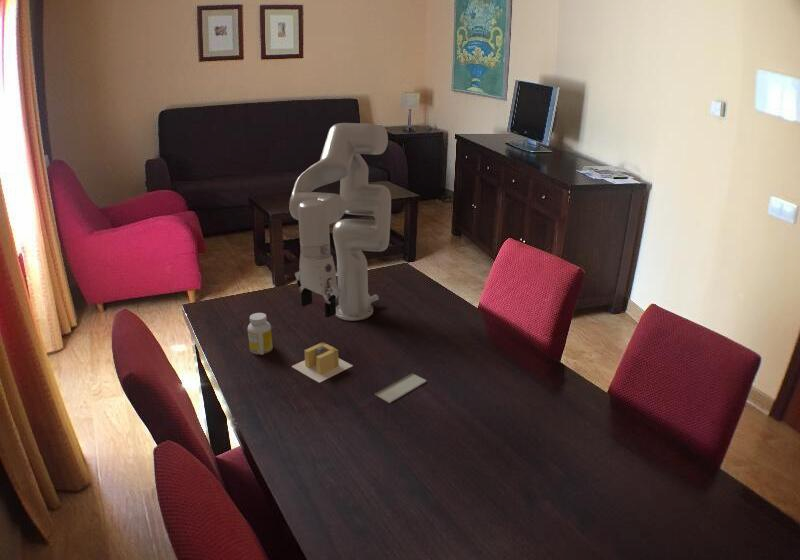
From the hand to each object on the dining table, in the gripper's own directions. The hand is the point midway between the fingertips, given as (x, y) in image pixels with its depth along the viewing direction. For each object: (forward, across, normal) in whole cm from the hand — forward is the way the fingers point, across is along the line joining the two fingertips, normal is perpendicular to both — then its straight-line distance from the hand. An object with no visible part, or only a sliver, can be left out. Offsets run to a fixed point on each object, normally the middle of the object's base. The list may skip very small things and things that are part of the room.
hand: (318, 310), depth 170 cm
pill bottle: (+18, +20, +6) cm, 28 cm away
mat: (+18, -18, -8) cm, 27 cm away
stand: (+18, 0, 0) cm, 18 cm away
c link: (+17, 0, 0) cm, 17 cm away
